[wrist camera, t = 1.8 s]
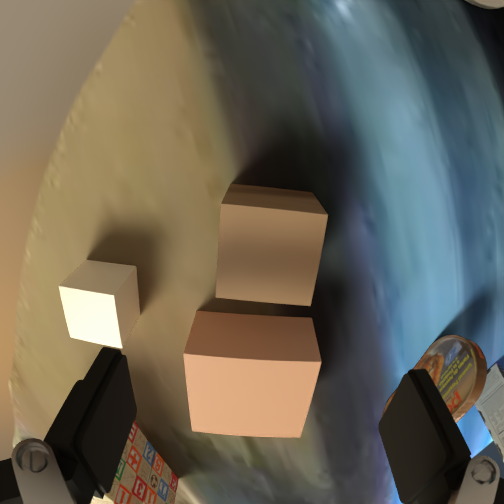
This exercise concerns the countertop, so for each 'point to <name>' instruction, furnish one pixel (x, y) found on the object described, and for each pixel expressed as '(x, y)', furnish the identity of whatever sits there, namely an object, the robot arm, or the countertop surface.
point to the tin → (455, 372)
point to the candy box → (493, 405)
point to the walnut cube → (269, 245)
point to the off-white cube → (101, 302)
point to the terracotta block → (250, 373)
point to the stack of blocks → (141, 475)
